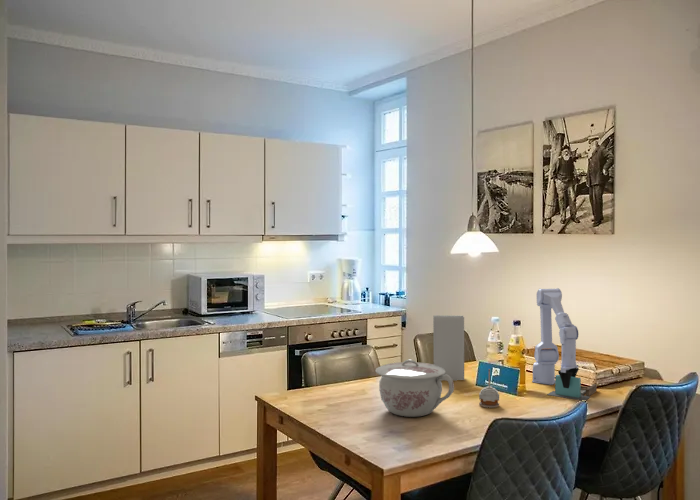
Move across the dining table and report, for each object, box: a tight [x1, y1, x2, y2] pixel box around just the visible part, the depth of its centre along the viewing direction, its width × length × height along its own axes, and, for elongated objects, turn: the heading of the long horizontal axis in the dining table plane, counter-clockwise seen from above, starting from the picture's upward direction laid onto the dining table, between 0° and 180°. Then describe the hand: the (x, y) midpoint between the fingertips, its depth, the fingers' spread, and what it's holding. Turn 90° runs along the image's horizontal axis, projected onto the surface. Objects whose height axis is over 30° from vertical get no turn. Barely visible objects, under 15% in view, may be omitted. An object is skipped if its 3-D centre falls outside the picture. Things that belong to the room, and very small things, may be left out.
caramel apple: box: [478, 368, 500, 409], centre depth 252 cm, size 8×8×15 cm
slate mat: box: [546, 390, 591, 401], centre depth 265 cm, size 16×7×1 cm, turn 53°
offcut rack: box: [581, 383, 598, 397], centre depth 273 cm, size 14×11×3 cm
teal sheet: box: [554, 374, 582, 398], centre depth 265 cm, size 10×2×8 cm, turn 53°
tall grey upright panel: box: [432, 315, 465, 381], centre depth 297 cm, size 14×6×30 cm, turn 84°
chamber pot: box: [375, 359, 455, 418], centre depth 244 cm, size 28×28×21 cm
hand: (568, 386), depth 265 cm, fingers open, 6 cm apart
